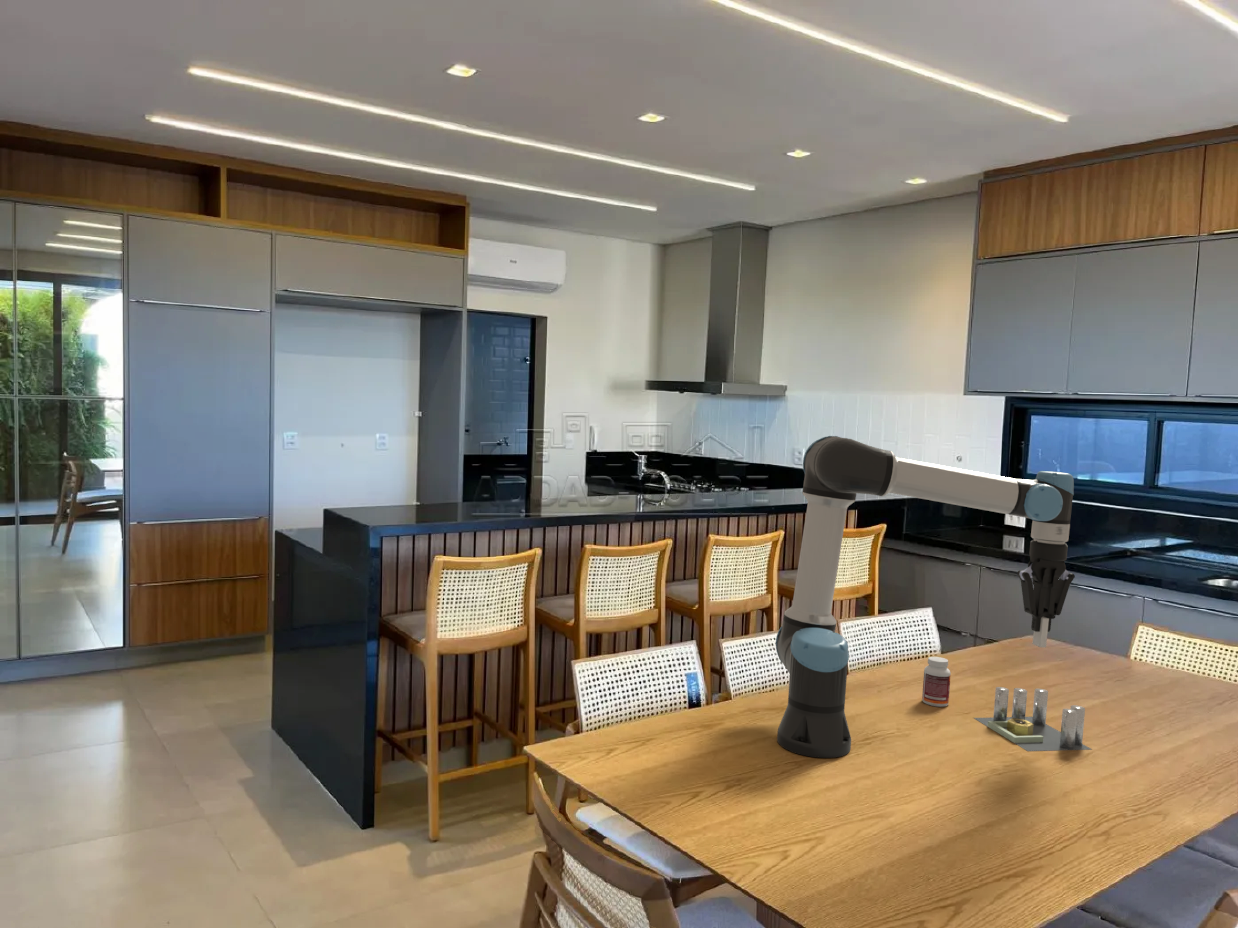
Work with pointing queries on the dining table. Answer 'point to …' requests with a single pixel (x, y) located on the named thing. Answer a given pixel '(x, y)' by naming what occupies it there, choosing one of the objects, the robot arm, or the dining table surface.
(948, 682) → the pill bottle
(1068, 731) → the spacer posts
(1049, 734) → the mat
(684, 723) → the dining table surface
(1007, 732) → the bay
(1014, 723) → the nut
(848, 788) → the dining table surface
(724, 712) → the dining table surface
